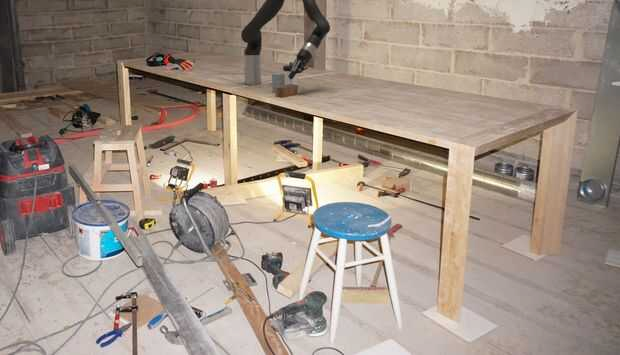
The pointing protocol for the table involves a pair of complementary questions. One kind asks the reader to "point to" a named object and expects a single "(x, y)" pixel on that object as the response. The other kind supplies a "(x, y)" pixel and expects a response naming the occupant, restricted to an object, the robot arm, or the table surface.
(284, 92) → the walnut block
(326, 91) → the table surface
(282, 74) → the grey block
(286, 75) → the jar
